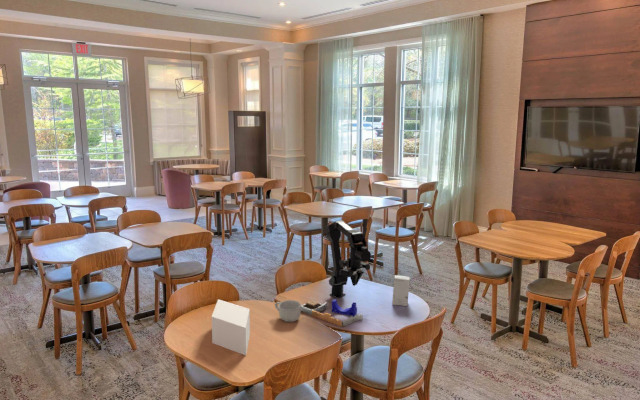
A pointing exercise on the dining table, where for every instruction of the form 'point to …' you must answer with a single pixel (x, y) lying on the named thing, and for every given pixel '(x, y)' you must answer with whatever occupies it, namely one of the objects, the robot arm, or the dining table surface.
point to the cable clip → (347, 311)
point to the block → (231, 326)
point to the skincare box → (400, 290)
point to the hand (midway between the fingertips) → (354, 285)
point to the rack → (315, 308)
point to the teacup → (289, 310)
